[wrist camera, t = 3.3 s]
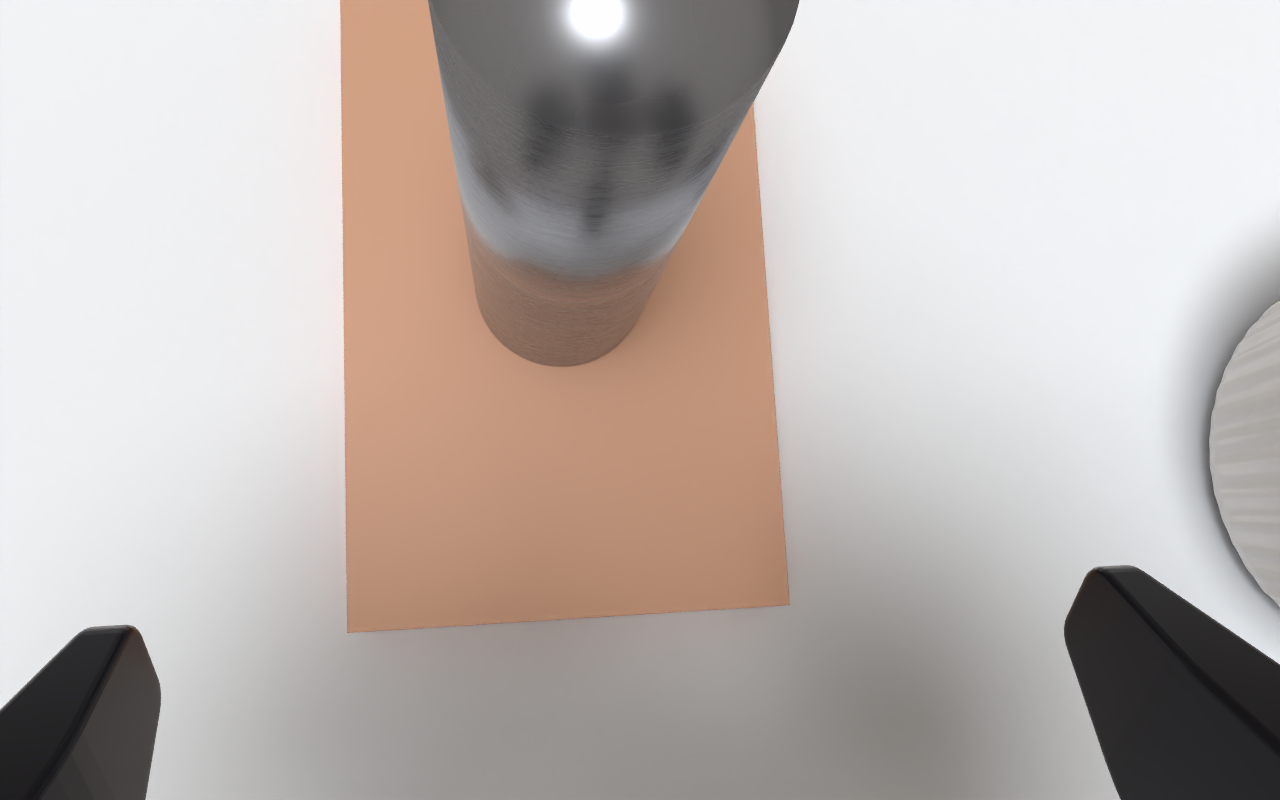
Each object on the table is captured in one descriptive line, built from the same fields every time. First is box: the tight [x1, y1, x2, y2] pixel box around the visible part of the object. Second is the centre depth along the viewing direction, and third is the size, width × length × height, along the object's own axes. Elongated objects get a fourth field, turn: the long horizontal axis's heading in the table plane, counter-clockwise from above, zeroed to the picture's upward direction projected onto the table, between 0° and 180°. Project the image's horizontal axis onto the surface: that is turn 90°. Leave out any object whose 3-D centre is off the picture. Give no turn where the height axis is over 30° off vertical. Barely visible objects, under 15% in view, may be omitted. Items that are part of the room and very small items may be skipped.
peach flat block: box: [340, 0, 790, 633], centre depth 22 cm, size 14×9×2 cm, turn 3°
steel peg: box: [428, 0, 799, 367], centre depth 15 cm, size 4×4×12 cm
